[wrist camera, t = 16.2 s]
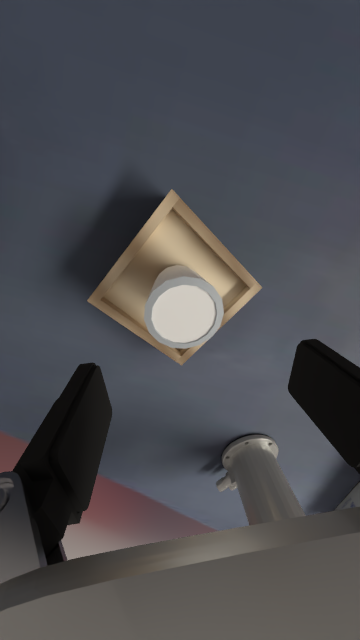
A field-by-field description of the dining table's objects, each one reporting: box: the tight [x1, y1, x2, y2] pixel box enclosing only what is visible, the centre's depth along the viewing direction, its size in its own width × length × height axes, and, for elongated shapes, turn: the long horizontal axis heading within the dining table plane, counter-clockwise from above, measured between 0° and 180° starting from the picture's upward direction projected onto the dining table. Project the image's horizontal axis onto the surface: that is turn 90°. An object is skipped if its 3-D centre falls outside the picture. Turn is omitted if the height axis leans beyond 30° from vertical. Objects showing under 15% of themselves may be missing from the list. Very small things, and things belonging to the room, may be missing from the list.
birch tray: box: [87, 189, 262, 365], centre depth 24 cm, size 14×14×5 cm
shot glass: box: [144, 265, 224, 349], centre depth 19 cm, size 7×7×7 cm
